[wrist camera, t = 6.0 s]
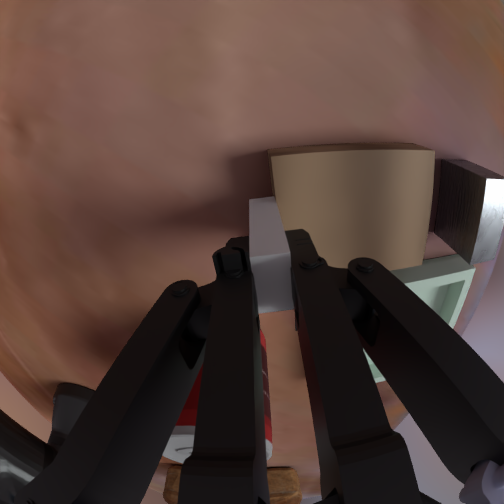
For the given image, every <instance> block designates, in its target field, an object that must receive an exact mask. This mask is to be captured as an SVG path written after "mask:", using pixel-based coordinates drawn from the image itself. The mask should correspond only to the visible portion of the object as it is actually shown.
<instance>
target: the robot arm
mask: <svg viewBox="0 0 504 504" xmlns="http://www.w3.org/2000/svg"><path fill="white" fill-rule="evenodd" d="M212 258H213V262H214V266H215V270H216V274H217V276H216V280H215V281H214V282H212V283H210V284H207V285H204V286H201V287H197V284H196V283H195V282H194V281H191V280H180V281H177V282H174V283H173V284H171V285H169V286H168V287H167V288H166V289H165V290H164V292H163V293H162V295H161V296H160V297H159V299H158V300H157V301H156V303H155V304H154V305H153V307H152V308H151V310H150V311H149V312H148V314H147V315H146V317H145V318H144V319H143V321H142V322H141V324H140V325H139V327H138V328H137V329H136V331H135V332H134V334H133V335H132V337H131V338H130V339H129V341H128V342H127V344H126V345H125V347H124V348H123V350H122V351H121V353H120V354H119V356H118V357H117V359H116V360H115V361H114V363H113V364H112V366H111V368H110V369H109V371H108V372H107V374H106V375H105V377H104V378H103V380H102V381H101V383H100V384H99V386H98V387H97V389H96V391H92V390H90V389H87V388H85V387H82V386H78V385H74V384H68V383H63V384H60V385H59V386H58V387H57V389H56V392H55V394H54V396H53V404H54V409H53V417H52V431H51V434H50V437H49V440H48V443H45V442H44V441H42V440H41V439H39V438H38V437H36V436H35V435H33V434H32V433H30V432H29V431H28V430H26V429H25V428H23V427H22V426H21V425H19V424H18V423H17V422H15V421H14V420H13V419H11V418H10V417H9V416H8V415H7V414H5V413H4V412H3V411H2V410H1V409H0V504H140V503H141V501H142V499H143V497H144V495H145V493H146V491H147V489H148V486H149V484H150V482H151V480H152V477H153V475H154V473H155V470H156V468H157V466H158V464H159V461H160V459H161V457H162V455H163V452H164V450H165V448H166V446H167V443H168V441H169V439H170V436H171V434H172V432H173V430H174V427H175V425H176V423H177V421H178V418H179V416H180V414H181V412H182V409H183V407H184V405H185V402H186V400H187V398H188V396H189V393H190V391H191V389H192V387H193V384H194V382H195V380H196V378H197V375H198V373H199V371H200V368H201V366H202V364H203V369H202V376H201V384H200V392H199V400H198V408H197V416H196V425H195V434H194V443H193V450H192V453H191V455H190V456H189V457H188V458H186V459H185V460H184V463H183V465H182V468H181V473H180V482H179V491H178V502H177V504H270V495H269V486H268V478H267V460H266V438H265V417H264V396H263V375H262V355H261V336H260V320H259V314H258V313H267V312H275V311H284V310H292V309H294V308H295V329H296V331H298V336H299V342H300V347H301V353H302V358H303V364H304V369H305V375H306V381H307V387H308V393H309V399H310V405H311V411H312V417H313V424H314V430H315V437H316V444H317V451H318V458H319V465H320V484H321V495H322V501H319V502H316V503H314V504H441V503H439V502H438V501H436V500H434V499H432V498H430V497H429V496H427V495H425V494H424V493H421V492H420V491H419V489H418V484H417V480H416V477H415V473H414V469H413V465H412V462H411V459H410V455H409V451H408V448H407V445H406V443H405V440H404V438H403V437H402V436H401V434H400V433H397V432H395V431H393V430H392V429H391V427H390V425H389V422H388V419H387V416H386V413H385V409H384V406H383V403H382V400H381V397H380V394H379V391H378V389H377V386H376V383H375V380H374V377H373V374H372V372H371V369H370V366H369V363H368V361H367V358H366V355H365V353H364V351H365V352H366V353H367V355H368V356H369V357H370V359H371V360H372V362H373V363H374V364H375V366H376V367H377V368H378V370H379V371H380V373H381V374H382V375H383V377H384V378H385V380H386V381H387V382H388V384H389V385H390V387H391V388H392V389H393V391H394V392H395V394H396V395H397V396H398V398H399V399H400V401H401V402H402V403H403V405H404V406H405V408H406V409H407V411H408V412H409V413H410V415H411V416H412V418H413V419H414V421H415V422H416V423H417V425H418V427H419V428H420V429H421V431H422V432H423V434H424V435H425V437H426V438H427V440H428V441H429V443H430V444H431V446H432V447H433V449H434V450H435V452H436V453H437V455H438V456H439V457H440V459H441V461H442V462H443V463H444V465H445V466H446V467H447V469H448V470H449V471H450V472H451V473H452V474H453V475H454V476H455V477H456V478H457V479H458V480H459V481H461V482H462V483H463V484H465V485H464V488H463V489H462V490H461V492H460V495H459V499H460V501H461V502H463V503H466V504H504V383H503V382H502V381H501V380H500V378H499V377H498V376H497V375H496V374H495V373H494V372H493V370H492V369H491V368H490V367H489V366H488V365H487V364H486V363H485V362H484V360H483V359H482V358H481V357H480V356H479V355H478V354H477V353H476V352H475V351H474V350H473V349H472V348H471V347H470V346H469V345H468V344H467V343H466V342H465V341H464V340H463V339H462V338H461V337H460V336H459V335H458V334H457V333H456V332H455V331H454V330H453V329H452V328H451V327H450V326H449V325H448V324H447V323H446V322H445V321H444V320H443V319H442V318H441V317H440V316H439V315H438V314H437V313H436V312H435V311H434V310H433V309H432V308H430V307H429V306H428V305H427V304H426V303H425V302H424V301H423V300H422V299H421V298H420V297H418V296H417V295H416V294H415V293H414V292H413V291H412V290H411V289H409V288H408V287H407V286H406V285H405V284H404V283H403V282H402V281H400V280H399V279H398V278H397V277H396V276H395V275H393V274H392V273H391V272H390V271H389V270H388V269H386V268H385V267H384V266H383V265H382V264H380V263H379V262H378V261H376V260H374V259H371V258H367V257H360V258H355V259H353V260H351V261H350V262H349V263H348V268H336V267H331V266H328V264H327V261H326V260H325V259H324V258H322V257H320V256H319V255H318V253H317V251H316V248H315V246H314V244H313V242H312V239H311V237H310V235H309V233H308V232H307V231H305V230H304V229H295V230H287V231H284V228H283V224H282V221H281V217H280V214H279V210H278V207H277V203H276V200H275V197H274V196H272V197H264V198H256V199H249V236H245V237H237V238H231V239H230V240H229V241H228V242H227V243H226V247H223V248H221V249H219V250H217V251H216V252H215V253H214V254H213V256H212ZM363 349H364V350H363Z"/></svg>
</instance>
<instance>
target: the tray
mask: <svg viewBox="0 0 504 504" xmlns="http://www.w3.org/2000/svg"><path fill="white" fill-rule="evenodd" d="M475 269H476V268H475V267H474V266H473V265H469V264H468V263H467V262H466V261H465V260H464V259H463V258H462V257H461V256H460V255H459V254H455V255H450V256H444V257H439V258H433V259H427V260H423V262H422V265H419V266H414V267H408V268H403V269H397V270H391V271H390V272H391V273H392V274H393V275H395V276H396V277H397V278H398V279H399V280H400V281H402V282H403V283H404V284H405V285H406V286H407V287H408V288H409V289H411V290H412V291H413V292H414V293H415V294H416V295H417V296H418V297H420V298H421V299H422V300H423V301H424V302H425V303H426V304H427V305H428V306H429V307H430V308H432V309H433V310H434V311H435V312H436V313H437V314H438V315H439V316H440V317H441V318H442V319H443V320H444V321H445V322H446V323H447V324H448V325H449V326H450V327H451V328H452V329H453V327H454V325H455V323H456V321H457V318H458V316H459V313H460V311H461V308H462V306H463V303H464V301H465V298H466V295H467V293H468V290H469V287H470V284H471V281H472V278H473V275H474V272H475ZM363 350H364V349H363ZM364 353H365V355H366V358H367V361H368V363H369V366H370V369H371V372H372V374H373V377H374V380H375V383H377V382H381V381H385V378H384V377H383V375H382V374H381V373H380V371H379V370H378V368H377V367H376V366H375V364H374V363H373V362H372V360H371V359H370V357H369V356H368V355H367V353H366V352H365V351H364Z"/></svg>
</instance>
